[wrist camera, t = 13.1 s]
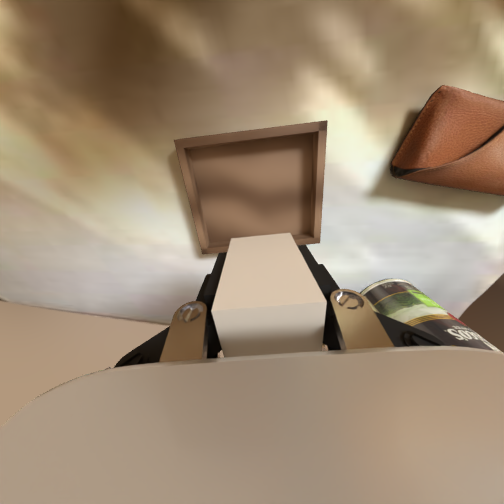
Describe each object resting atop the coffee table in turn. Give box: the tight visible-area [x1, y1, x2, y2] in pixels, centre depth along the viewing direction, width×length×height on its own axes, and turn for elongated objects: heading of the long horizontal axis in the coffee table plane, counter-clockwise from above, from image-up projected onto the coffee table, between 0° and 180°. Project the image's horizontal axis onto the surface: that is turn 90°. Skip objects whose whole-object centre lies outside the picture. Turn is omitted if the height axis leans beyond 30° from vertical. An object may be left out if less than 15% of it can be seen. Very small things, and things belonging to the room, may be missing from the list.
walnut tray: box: [174, 121, 327, 254], centre depth 22 cm, size 13×16×2 cm
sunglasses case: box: [390, 85, 504, 196], centre depth 19 cm, size 18×7×7 cm
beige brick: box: [211, 233, 327, 358], centre depth 9 cm, size 4×4×6 cm
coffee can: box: [360, 279, 502, 353], centre depth 24 cm, size 10×10×14 cm
